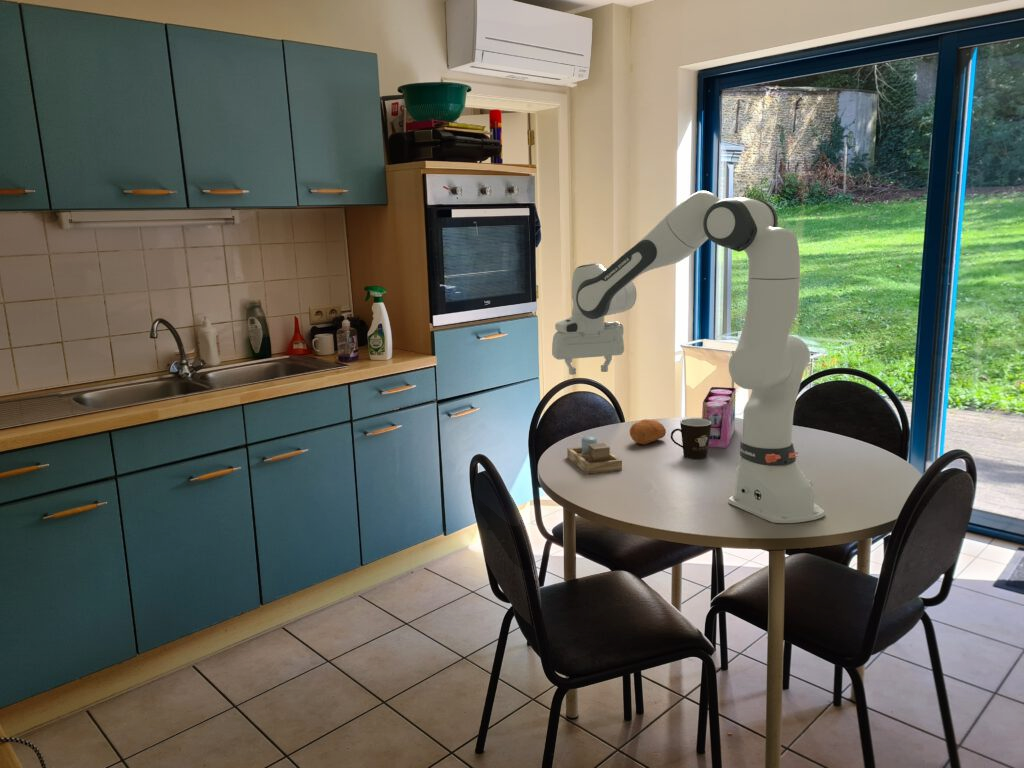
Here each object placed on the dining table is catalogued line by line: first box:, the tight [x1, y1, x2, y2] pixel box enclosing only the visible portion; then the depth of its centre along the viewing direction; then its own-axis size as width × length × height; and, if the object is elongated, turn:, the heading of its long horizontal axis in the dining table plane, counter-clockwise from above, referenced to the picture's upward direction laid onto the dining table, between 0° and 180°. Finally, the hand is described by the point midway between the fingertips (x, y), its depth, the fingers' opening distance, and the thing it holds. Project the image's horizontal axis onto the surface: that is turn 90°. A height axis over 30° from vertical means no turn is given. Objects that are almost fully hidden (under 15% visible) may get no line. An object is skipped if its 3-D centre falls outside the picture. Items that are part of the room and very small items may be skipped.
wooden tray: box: [566, 446, 623, 475], centre depth 215 cm, size 16×10×3 cm, turn 15°
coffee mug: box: [670, 417, 711, 460], centre depth 219 cm, size 12×9×10 cm
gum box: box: [701, 386, 737, 449], centre depth 236 cm, size 24×8×14 cm, turn 159°
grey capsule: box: [581, 435, 598, 455], centre depth 218 cm, size 4×4×5 cm
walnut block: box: [588, 442, 611, 463], centre depth 211 cm, size 4×4×5 cm
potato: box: [629, 419, 667, 445], centre depth 234 cm, size 7×13×7 cm, turn 123°
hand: (588, 373), depth 214 cm, fingers open, 8 cm apart
